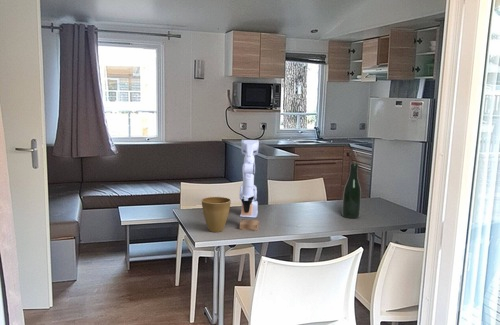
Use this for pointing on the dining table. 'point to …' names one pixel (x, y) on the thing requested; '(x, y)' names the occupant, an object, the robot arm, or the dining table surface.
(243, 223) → the tan square slab
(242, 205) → the terracotta cube
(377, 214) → the dining table surface
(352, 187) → the green glass bottle
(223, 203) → the plant pot
